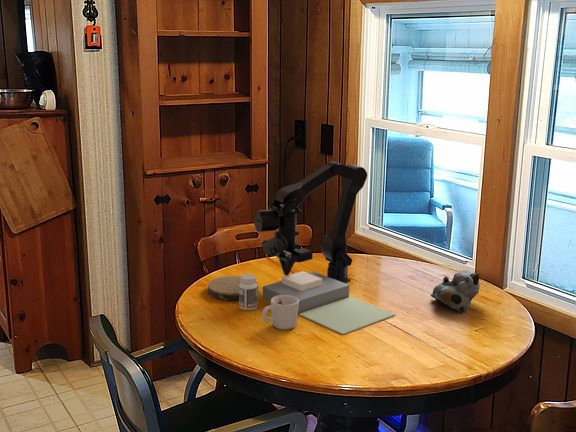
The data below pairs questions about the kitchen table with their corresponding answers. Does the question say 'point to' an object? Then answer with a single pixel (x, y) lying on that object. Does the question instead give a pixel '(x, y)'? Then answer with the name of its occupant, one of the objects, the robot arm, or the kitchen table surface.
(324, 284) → the gray rectangular block
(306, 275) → the ceramic tile
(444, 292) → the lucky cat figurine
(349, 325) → the rubber mat
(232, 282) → the grey brown round disc
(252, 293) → the pill bottle
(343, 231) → the robot arm
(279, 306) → the cup
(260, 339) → the kitchen table surface
